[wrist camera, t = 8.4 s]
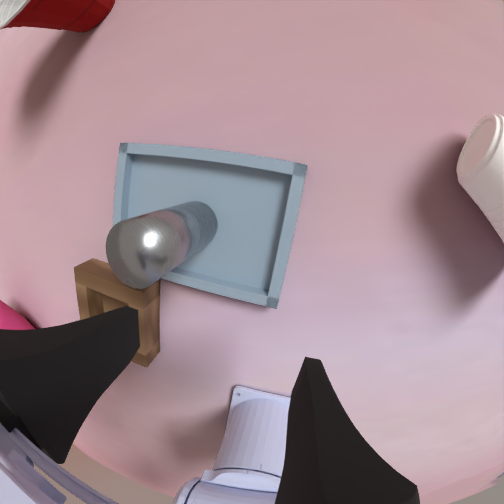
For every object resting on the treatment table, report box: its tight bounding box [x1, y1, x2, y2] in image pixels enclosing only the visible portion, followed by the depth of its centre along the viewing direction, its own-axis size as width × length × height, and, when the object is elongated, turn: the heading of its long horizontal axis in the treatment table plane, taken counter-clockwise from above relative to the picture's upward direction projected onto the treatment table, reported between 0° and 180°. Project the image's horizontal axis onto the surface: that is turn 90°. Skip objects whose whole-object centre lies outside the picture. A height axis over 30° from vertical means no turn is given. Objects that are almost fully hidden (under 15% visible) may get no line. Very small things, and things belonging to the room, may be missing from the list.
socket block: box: [74, 258, 160, 367], centre depth 23 cm, size 8×8×3 cm
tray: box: [113, 143, 307, 309], centre depth 19 cm, size 10×14×2 cm
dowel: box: [106, 201, 218, 289], centre depth 16 cm, size 3×3×8 cm
